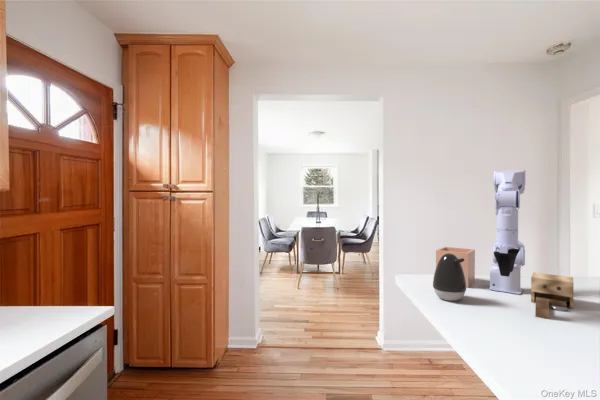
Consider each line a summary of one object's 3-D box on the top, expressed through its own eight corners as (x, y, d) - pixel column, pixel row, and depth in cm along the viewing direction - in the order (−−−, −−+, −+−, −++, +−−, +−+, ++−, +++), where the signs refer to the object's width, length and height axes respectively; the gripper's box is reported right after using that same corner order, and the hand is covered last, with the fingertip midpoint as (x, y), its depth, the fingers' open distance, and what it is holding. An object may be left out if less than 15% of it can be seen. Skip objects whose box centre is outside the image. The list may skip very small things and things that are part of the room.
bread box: (530, 302, 106) (531, 277, 106) (533, 295, 113) (533, 272, 113) (573, 309, 99) (573, 283, 99) (572, 301, 107) (572, 277, 107)
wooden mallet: (535, 316, 93) (535, 299, 93) (538, 302, 106) (538, 287, 106) (567, 322, 89) (567, 304, 89) (566, 307, 101) (566, 291, 101)
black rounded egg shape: (452, 305, 103) (453, 257, 103) (426, 296, 112) (426, 252, 112) (473, 300, 107) (474, 254, 107) (446, 292, 117) (446, 250, 117)
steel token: (550, 310, 99) (550, 306, 99) (550, 307, 102) (550, 303, 102) (567, 313, 97) (567, 309, 97) (566, 309, 100) (566, 305, 100)
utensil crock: (435, 282, 130) (436, 250, 130) (444, 277, 139) (444, 246, 139) (468, 288, 123) (468, 253, 123) (474, 281, 132) (474, 249, 132)
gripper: (520, 232, 93) (519, 280, 93) (524, 228, 104) (524, 271, 104) (491, 230, 97) (491, 276, 97) (499, 227, 109) (498, 268, 109)
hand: (506, 273), depth 101 cm, fingers open, 7 cm apart
